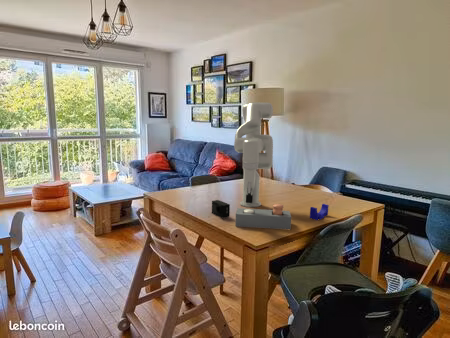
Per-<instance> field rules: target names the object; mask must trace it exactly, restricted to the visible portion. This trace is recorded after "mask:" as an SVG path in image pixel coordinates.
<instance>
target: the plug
mask: <svg viewBox="0 0 450 338" xmlns="http://www.w3.org/2000/svg"><path fill="white" fill-rule="evenodd" d="M245 209H246V210H244V213H250V214H254V210H250V209H251V208H245Z"/></svg>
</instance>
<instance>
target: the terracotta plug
mask: <svg viewBox="0 0 450 338" xmlns="http://www.w3.org/2000/svg"><path fill="white" fill-rule="evenodd" d="M283 208H284V204H281V203H274V204H273V205H272V210H273V215H282V211H284V210H283Z"/></svg>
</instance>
